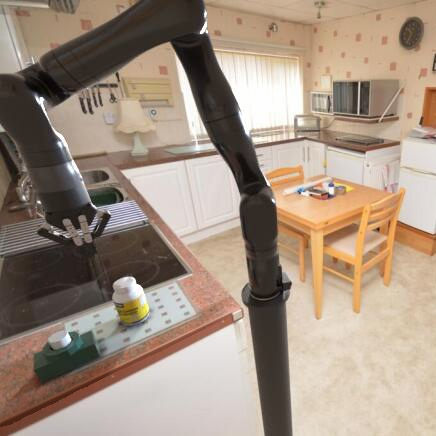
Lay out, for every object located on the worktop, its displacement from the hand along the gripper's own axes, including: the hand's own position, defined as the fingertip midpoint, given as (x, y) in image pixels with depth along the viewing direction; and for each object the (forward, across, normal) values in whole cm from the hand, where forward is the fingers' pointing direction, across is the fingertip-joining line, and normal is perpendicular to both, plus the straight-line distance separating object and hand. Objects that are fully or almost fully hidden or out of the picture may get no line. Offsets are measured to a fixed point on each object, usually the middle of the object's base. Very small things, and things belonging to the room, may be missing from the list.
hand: (90, 256), depth 66 cm
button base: (+21, +10, +6) cm, 24 cm away
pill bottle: (+21, -4, +1) cm, 21 cm away
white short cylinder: (+15, +10, +6) cm, 19 cm away
